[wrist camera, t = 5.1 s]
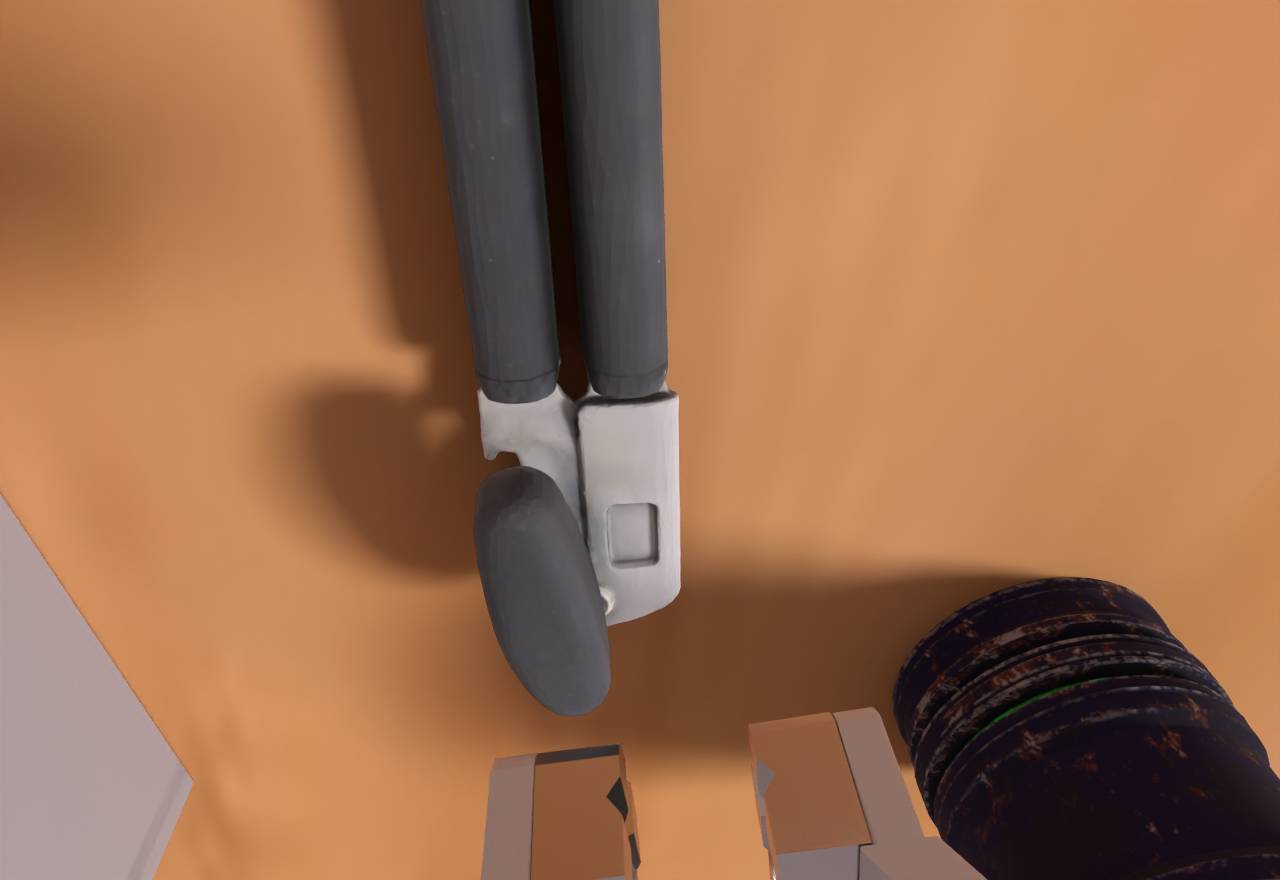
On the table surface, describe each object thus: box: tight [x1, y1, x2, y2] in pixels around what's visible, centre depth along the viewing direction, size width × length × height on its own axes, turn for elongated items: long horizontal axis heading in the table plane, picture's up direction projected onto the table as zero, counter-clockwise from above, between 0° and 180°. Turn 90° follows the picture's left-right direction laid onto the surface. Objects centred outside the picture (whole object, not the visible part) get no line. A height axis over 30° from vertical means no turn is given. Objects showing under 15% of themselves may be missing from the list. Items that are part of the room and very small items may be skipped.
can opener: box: [421, 0, 681, 716], centre depth 19 cm, size 19×5×6 cm, turn 2°
